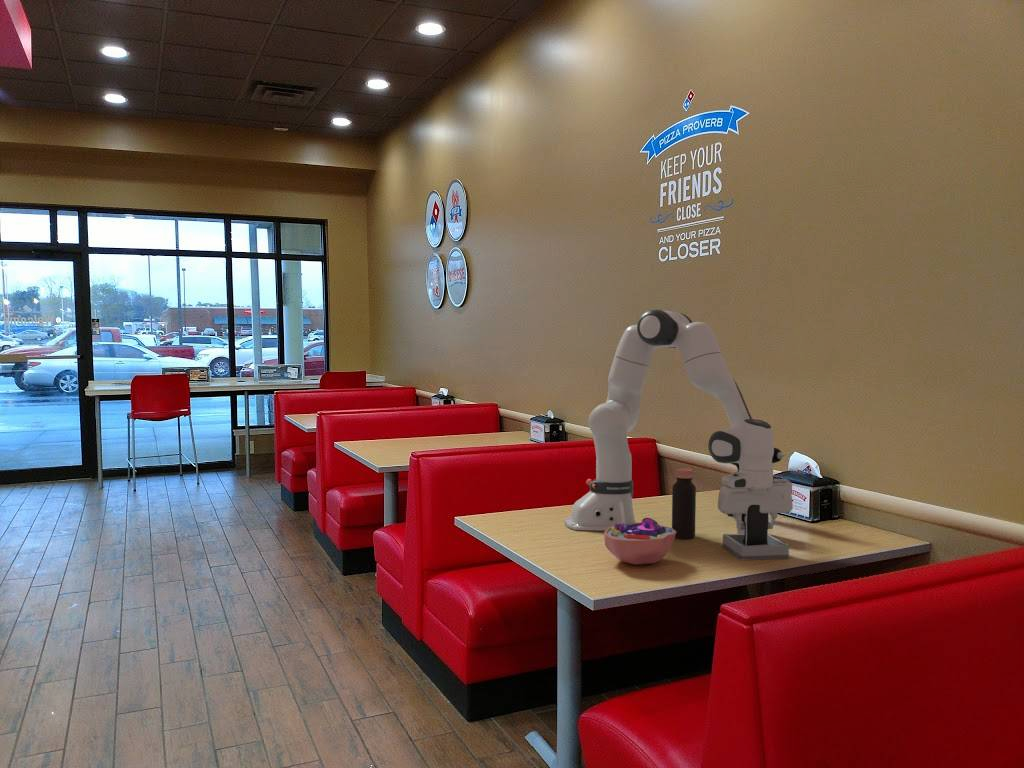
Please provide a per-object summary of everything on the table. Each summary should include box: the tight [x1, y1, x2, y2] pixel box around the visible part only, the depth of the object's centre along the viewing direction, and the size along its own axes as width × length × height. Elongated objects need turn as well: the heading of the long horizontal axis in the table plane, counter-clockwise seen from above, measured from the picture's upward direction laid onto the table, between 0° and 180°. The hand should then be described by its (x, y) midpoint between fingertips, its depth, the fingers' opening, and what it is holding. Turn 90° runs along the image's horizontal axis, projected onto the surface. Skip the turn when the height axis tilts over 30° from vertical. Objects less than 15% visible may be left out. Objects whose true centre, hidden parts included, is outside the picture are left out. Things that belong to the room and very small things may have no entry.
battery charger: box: [741, 505, 770, 546], centre depth 206 cm, size 7×4×11 cm, turn 111°
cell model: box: [603, 517, 676, 566], centre depth 197 cm, size 17×20×11 cm
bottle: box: [671, 468, 697, 540], centre depth 222 cm, size 7×7×20 cm
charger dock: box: [722, 533, 790, 561], centre depth 206 cm, size 13×13×4 cm
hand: (754, 528), depth 206 cm, fingers closed on battery charger, 7 cm apart
